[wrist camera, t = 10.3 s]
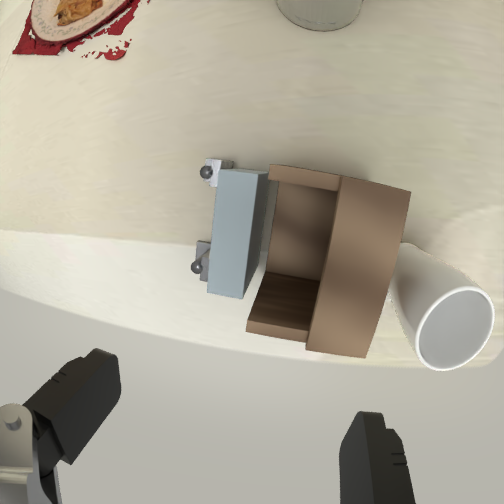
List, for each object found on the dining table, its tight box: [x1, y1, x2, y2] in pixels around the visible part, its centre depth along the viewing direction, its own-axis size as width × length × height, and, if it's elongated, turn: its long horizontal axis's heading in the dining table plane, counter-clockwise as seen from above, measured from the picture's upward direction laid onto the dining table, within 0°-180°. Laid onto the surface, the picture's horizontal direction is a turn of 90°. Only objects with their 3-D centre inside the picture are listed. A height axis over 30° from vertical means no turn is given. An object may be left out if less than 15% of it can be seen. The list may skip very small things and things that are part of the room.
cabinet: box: [246, 164, 411, 358], centre depth 26 cm, size 12×9×13 cm
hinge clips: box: [191, 158, 233, 282], centre depth 31 cm, size 11×3×5 cm, turn 172°
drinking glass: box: [388, 242, 495, 371], centre depth 24 cm, size 7×7×15 cm
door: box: [207, 169, 269, 299], centre depth 29 cm, size 10×4×9 cm, turn 173°
